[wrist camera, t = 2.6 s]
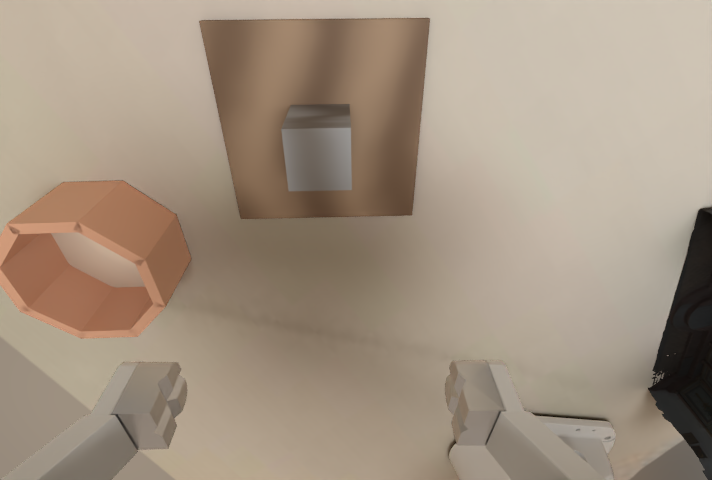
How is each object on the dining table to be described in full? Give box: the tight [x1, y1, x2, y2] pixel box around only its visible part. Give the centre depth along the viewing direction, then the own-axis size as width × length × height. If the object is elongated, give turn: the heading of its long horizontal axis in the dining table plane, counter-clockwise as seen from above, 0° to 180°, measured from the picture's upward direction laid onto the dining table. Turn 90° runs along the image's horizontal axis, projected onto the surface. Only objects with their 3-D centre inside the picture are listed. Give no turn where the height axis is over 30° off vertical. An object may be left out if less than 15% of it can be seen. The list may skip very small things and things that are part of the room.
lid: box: [199, 18, 430, 219], centre depth 25 cm, size 14×14×6 cm
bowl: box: [0, 181, 191, 339], centre depth 30 cm, size 11×11×6 cm
